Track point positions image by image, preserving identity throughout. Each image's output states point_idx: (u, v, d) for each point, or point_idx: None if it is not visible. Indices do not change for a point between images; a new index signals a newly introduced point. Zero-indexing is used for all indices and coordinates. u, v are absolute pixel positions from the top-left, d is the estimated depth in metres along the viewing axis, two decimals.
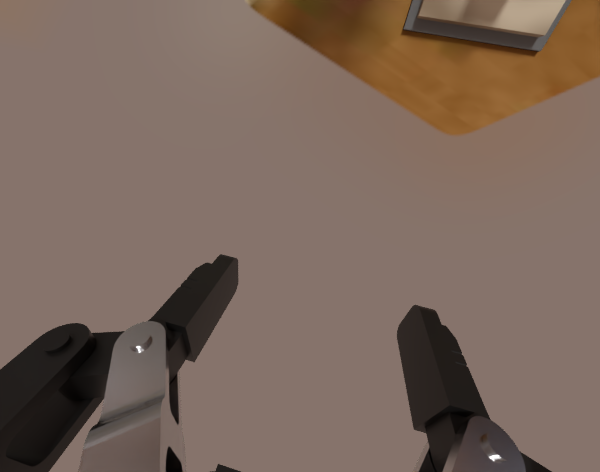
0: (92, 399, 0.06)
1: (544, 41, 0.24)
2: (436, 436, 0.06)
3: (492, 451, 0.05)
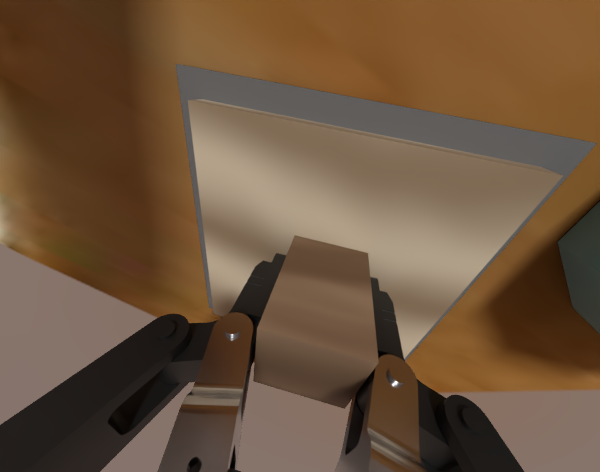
0: (174, 388, 0.07)
1: None
2: None
3: (391, 377, 0.06)
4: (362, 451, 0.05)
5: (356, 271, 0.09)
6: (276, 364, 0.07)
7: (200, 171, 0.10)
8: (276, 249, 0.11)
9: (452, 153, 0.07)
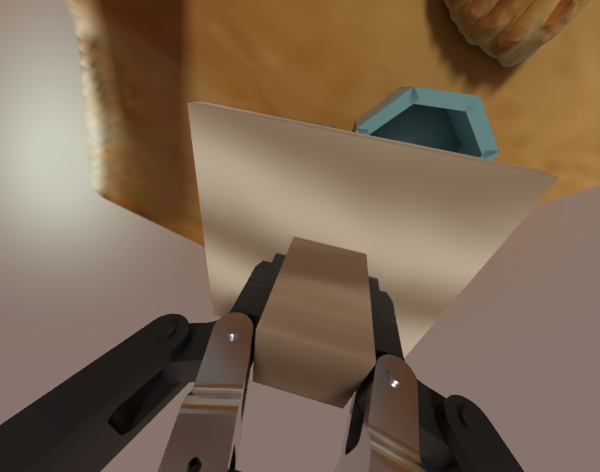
0: (174, 388, 0.07)
1: None
2: None
3: (391, 377, 0.06)
4: (362, 451, 0.05)
5: (354, 273, 0.09)
6: (275, 365, 0.07)
7: (199, 173, 0.10)
8: (275, 250, 0.11)
9: (449, 155, 0.07)
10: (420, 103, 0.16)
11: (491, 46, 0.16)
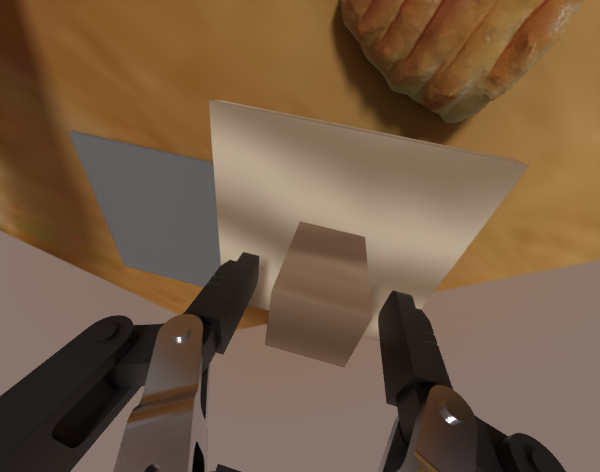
0: (128, 390, 0.07)
1: None
2: (404, 407, 0.07)
3: (448, 414, 0.06)
4: None
5: (354, 251, 0.10)
6: (286, 326, 0.08)
7: (216, 163, 0.11)
8: (282, 235, 0.12)
9: (436, 146, 0.09)
10: None
11: (421, 97, 0.11)
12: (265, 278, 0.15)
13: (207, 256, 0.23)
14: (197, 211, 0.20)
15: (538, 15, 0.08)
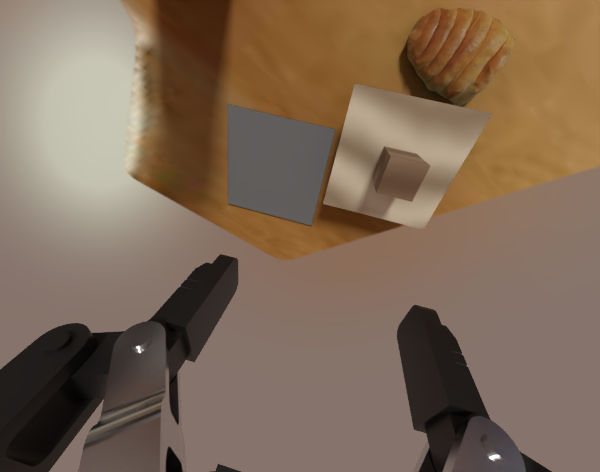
0: (92, 399, 0.06)
1: (311, 221, 0.36)
2: (436, 436, 0.06)
3: (492, 451, 0.05)
4: None
5: (414, 155, 0.22)
6: (390, 177, 0.20)
7: (348, 114, 0.23)
8: (372, 155, 0.24)
9: (454, 105, 0.20)
10: None
11: (443, 93, 0.23)
12: (354, 185, 0.26)
13: (295, 192, 0.34)
14: (298, 158, 0.31)
15: (493, 59, 0.20)
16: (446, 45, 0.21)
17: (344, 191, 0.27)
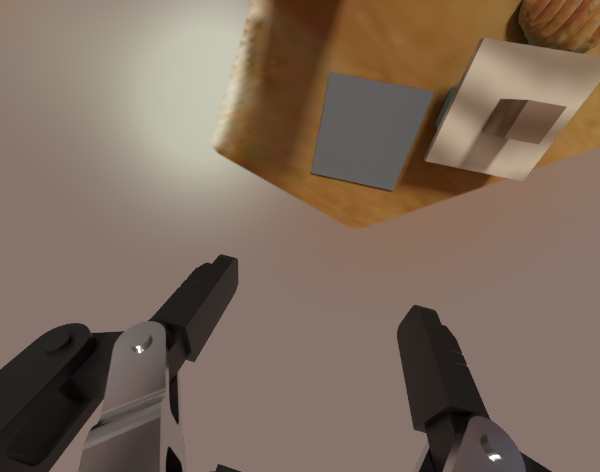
0: (92, 399, 0.06)
1: (393, 186, 0.39)
2: (436, 436, 0.06)
3: (492, 451, 0.05)
4: None
5: None
6: (523, 121, 0.22)
7: (471, 69, 0.25)
8: (486, 108, 0.26)
9: (579, 53, 0.22)
10: None
11: None
12: (462, 140, 0.28)
13: (382, 157, 0.36)
14: (391, 122, 0.34)
15: None
16: (565, 6, 0.23)
17: (449, 147, 0.29)
